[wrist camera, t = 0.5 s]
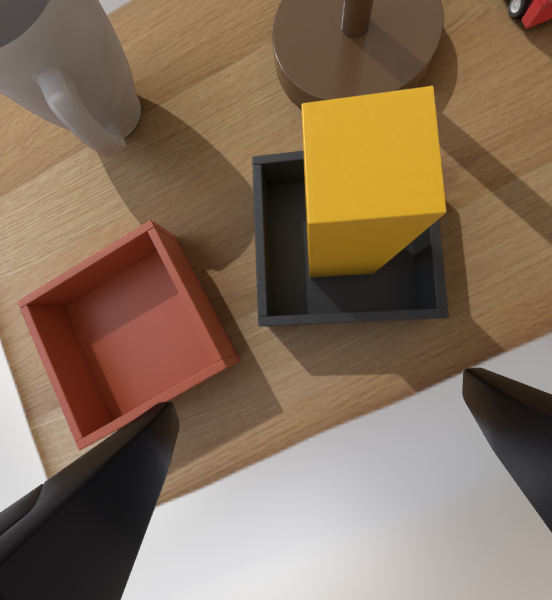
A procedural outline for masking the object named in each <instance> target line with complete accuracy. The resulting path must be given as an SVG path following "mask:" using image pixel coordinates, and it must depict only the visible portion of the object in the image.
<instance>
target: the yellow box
mask: <svg viewBox="0 0 552 600" xmlns="http://www.w3.org/2000/svg"><path fill="white" fill-rule="evenodd" d="M301 106H302V129H303V152H304V175H305V198H306V220H307V238H308V256H309V274H310V278H314V277H330V276H346V275H362V274H374V273H375V272H376V271H377V270H379V269H380V268H381V267H382V266H383V265H384V264H386V263H387V262H388V261H389V260H390V259H392V258H393V257H394V256H395V255H396V254H398V253H399V252H400V251H401V250H402V249H404V248H405V247H406V246H407V245H408V244H409V243H411V242H412V241H413V240H414V239H415V238H417V237H418V236H419V235H420V234H421V233H423V232H424V231H425V230H426V229H427V228H428V227H430V226H431V225H432V224H433V223H434V222H436V221H437V220H438V219H439V218H440V217H442V216H443V215H444V214H445V213H446V202H445V193H444V183H443V174H442V164H441V155H440V145H439V135H438V126H437V116H436V107H435V97H434V87H433V86H428V87H420V88H413V89H406V90H398V91H391V92H383V93H376V94H368V95H361V96H353V97H346V98H339V99H331V100H324V101H316V102H309V103H303V104H302V105H301Z"/></svg>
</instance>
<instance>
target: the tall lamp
mask: <svg viewBox="0 0 552 600" xmlns="http://www.w3.org/2000/svg"><path fill="white" fill-rule="evenodd" d="M442 29H443V8H442V3H441V0H282V1H281V3H280V5H279V7H278V10H277V12H276V15H275V20H274V24H273V33H272V37H273V49H274V56H275V64H276V70H277V75H278V78H279V80H280V83H281V85H282V87H283V89H284V91H285V92H286V94H287V95H288V96H289V98H290V99H291V100H292V101H293V102H294V103H295V104H296V105H297V106H299V107H300V108H301V109H302V106H301V105H302V104H303V103H309V102H316V101H324V100H331V99H339V98H346V97H353V96H361V95H368V94H376V93H383V92H391V91H398V90H406V89H413V88H417V86H418V85H419V84H420V82H421V81H422V79H423V77H424V75H425V73H426V71H427V69H428V67H429V65H430V62H431V60H432V58H433V56H434V54H435V51H436V49H437V47H438V44H439V41H440V38H441V34H442Z"/></svg>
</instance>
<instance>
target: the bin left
mask: <svg viewBox="0 0 552 600" xmlns="http://www.w3.org/2000/svg"><path fill="white" fill-rule="evenodd" d="M18 305H19V307H20V308H21V312H22V314H23V317H24V319H25V322H26V324H27V326H28V329H29V331H30V334H31V336H32V338H33V341H34V343H35V346H36V348H37V350H38V353H39V355H40V358H41V360H42V362H43V365H44V367H45V370H46V372H47V374H48V377H49V379H50V382H51V384H52V386H53V389H54V391H55V394H56V396H57V398H58V401H59V403H60V406H61V408H62V410H63V413H64V415H65V418H66V420H67V422H68V425H69V427H70V430H71V432H72V434H73V437H74V439H75V441H77V442H76V444H77V447H78V449H79V450H82V449H83V448H85V447H87V446H89V445H91V444H93V443H95V442H96V441H98V440H100V439H102V438H104V437H106V436H108V435H110V434H111V433H113V432H115V431H117V430H119V429H120V428H122V427H124V426H125V425H127V424H128V423H130V422H131V421H133V420H134V419H135V418H137V417H138V416H140V415H141V414H143V413H144V412H145V411H147V410H148V409H150V408H151V407H153V406H154V405H155V404H157V403H159V402H166V401H170V400H172V399H174V398H175V397H177V396H179V395H181V394H183V393H184V392H186V391H188V390H190V389H191V388H193V387H195V386H197V385H199V384H200V383H202V382H204V381H206V380H207V379H209V378H211V377H213V376H214V375H216V374H218V373H220V372H222V371H223V370H225V369H227V368H229V367H230V366H232V365H234V364H236V363H238V362H239V361H240V358H239V356H238V354H237V353H236V351H235V349H234V347H233V345H232V343H231V341H230V339H229V337H228V335H227V334H226V332H225V330H224V328H223V326H222V324H221V322H220V320H219V318H218V316H217V314H216V313H215V311H214V309H213V307H212V305H211V303H210V301H209V299H208V297H207V295H206V294H205V292H204V290H203V288H202V286H201V284H200V282H199V280H198V278H197V276H196V274H195V273H194V271H193V269H192V267H191V265H190V263H189V261H188V259H187V257H186V255H185V253H184V252H183V250H182V248H181V246H180V244H179V242H178V240H177V238H176V236H174V235H173V234H171V233H170V232H168V231H167V230H165V229H164V228H162V227H161V226H159V225H158V224H156V223H155V222H153V221H152V220H149V221H148V222H146V223H145V224H143V225H141V226H140V227H138V228H136V229H135V230H133V231H132V232H130V233H128V234H127V235H125V236H123V237H122V238H120V239H118V240H117V241H115V242H114V243H112V244H110V245H109V246H107V247H105V248H104V249H102V250H101V251H99V252H97V253H96V254H94V255H92V256H91V257H89V258H87V259H86V260H84V261H83V262H81V263H79V264H78V265H76V266H74V267H73V268H71V269H69V270H68V271H66V272H65V273H63V274H61V275H60V276H58V277H56V278H55V279H53V280H52V281H50V282H48V283H47V284H45V285H43V286H42V287H40V288H38V289H37V290H35V291H34V292H32V293H30V294H29V295H27V296H25V297H24V298H22V299H21V300H19V301H18Z"/></svg>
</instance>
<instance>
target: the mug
mask: <svg viewBox="0 0 552 600" xmlns="http://www.w3.org/2000/svg"><path fill="white" fill-rule="evenodd" d="M0 93H2V94H3V95H5V96H6V97H8V98H9V99H11V100H12V101H14V102H15V103H17V104H19V105H20V106H22V107H24V108H25V109H27V110H29V111H30V112H32V113H34V114H36V115H38V116H39V117H41V118H43V119H45V120H47V121H49V122H51V123H53V124H55V125H57V126H60V127H62V128H64V129H67V130H69V131H72V132H73V133H74V134H75V135H76V136H77V137H78V138H79V139H80V140H81V141H83V142H84V143H85V144H86V145H87V146H89V147H90V148H92V149H93V150H95V151H96V152H98V153H100V154H102V155H104V156H107V157H113V156H116V155H118V154H120V153H122V152H123V151H124V150H125V148H126V143H125V140H124V138H126V137H127V136H128V135H129V134H131V133H132V131H133V130H134V129H135V128H136V126H137V124H138V122H139V119H140V115H141V104H140V101H139V98H138V96H137V93H136V90H135V86H134V81H133V77H132V73H131V70H130V67H129V64H128V61H127V58H126V56H125V53H124V51H123V48H122V46H121V44H120V42H119V39H118V37H117V35H116V33H115V31H114V29H113V27H112V25H111V23H110V21H109V19H108V17H107V15H106V13H105V12H104V10H103V8H102V6H101V4H100V3H99V1H98V0H0Z"/></svg>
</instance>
